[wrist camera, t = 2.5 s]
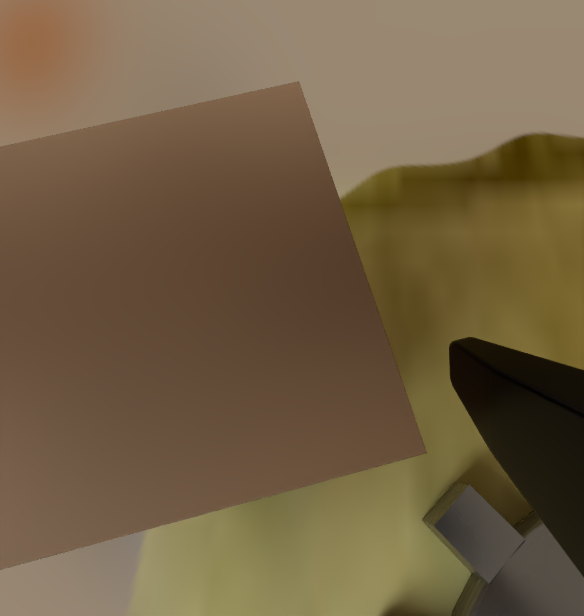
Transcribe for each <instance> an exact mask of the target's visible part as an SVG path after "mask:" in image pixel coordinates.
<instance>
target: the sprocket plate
mask: <svg viewBox="0 0 584 616" xmlns="http://www.w3.org/2000/svg"><path fill="white" fill-rule="evenodd" d="M422 521H423V522H424V523H425V524H426V525H427V526H428V527H429V528H430V529H431V530H432V531H433V532H434V533H435V534H436V535H437V537H438V538H439V539H440V540H441V541H442V542H443V543H444V544H445V545H446V546H447V547H448V548H449V549H450V550H451V551H452V552H453V553H454V555H455V556H456V557H457V558H458V559H459V560H460V561H461V562H462V563H463V564H464V565H465V566H466V567H467V568H468V569H469V570H470V571H471V572H472V573H473V574H472V576H471V577H470V578H469V580H468V582H467V584H466V586H465V588H464V590H463V592H462V594H461V596H460V598H459V600H458V602H457V604H456V606H455V608H454V610H453V612H452V615H451V616H584V577H583V576H582V575H581V573H580V572H579V571H578V569H577V568H576V567H575V565H574V564H573V563H572V561H571V560H570V558H569V557H568V556H567V554H566V553H565V552H564V550H563V549H562V548H561V546H560V545H559V544H558V542H557V541H556V540H555V538H554V537H553V535H552V534H551V533H550V531H549V530H548V529H547V527H546V526H545V525H544V523H543V522H542V521H541V519H540V518H539V517H538V515H537V514H536V512H535V511H533V512H532V513H530V514H529V515H528V516H526V517H525V518H524V519H522V520H521V521H520V522H518V523H517V524H516V525H515V526H513V527H512V526H511V525H510V524H509V523H508V522H507V521H506V520H505V519H504V518H503V517H502V516H501V515H500V514H499V513H498V512H497V511H496V510H495V509H494V508H493V507H492V506H491V505H490V504H489V503H488V502H487V501H486V500H485V499H484V498H483V497H482V496H481V495H480V494H479V493H478V492H477V491H476V490H475V489H474V488H473V487H472V486H471V485H469V484H461V483H454V484H453V485H452V486H451V488H450V489H449V490H448V491H447V492H446V493H445V494H444V496H443V497H442V498H441V499H440V500H439V501H438V502H437V504H436V505H435V506H434V507H433V508H432V509H431V510H430V512H429V513H428V514H427V515H426V516H425V517H424V518H423V520H422Z"/></svg>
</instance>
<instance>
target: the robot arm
mask: <svg viewBox="0 0 584 616" xmlns="http://www.w3.org/2000/svg"><path fill="white" fill-rule="evenodd" d="M449 363H450V379H451V382H452V385H453V388H454V389H455V391H456V393H457V395H458V396H459V398H460V400H461V401H462V403H463V405H464V407H465V408H466V410H467V412H468V414H469V415H470V417H471V419H472V420H473V422H474V424H475V426H476V427H477V429H478V431H479V432H480V434H481V436H482V438H483V439H484V441H485V443H486V444H487V446H488V448H489V449H490V451H491V452H492V454H493V455H494V457H495V458H496V460H497V461H498V462H499V464H500V465H501V466H502V468H503V469H504V471H505V472H506V473H507V475H508V476H509V477H510V479H511V480H512V481H513V483H514V484H515V485H516V487H517V488H518V489H519V491H520V492H521V494H522V495H523V496H524V498H525V499H526V500H527V502H528V503H529V504H530V506H531V507H532V508H533V510H534V511H535V512H536V514H537V515H538V517H539V518H540V519H541V521H542V522H543V523H544V525H545V526H546V527H547V529H548V530H549V531H550V533H551V534H552V535H553V537H554V538H555V540H556V541H557V542H558V544H559V545H560V546H561V548H562V549H563V550H564V552H565V553H566V554H567V556H568V557H569V558H570V560H571V561H572V563H573V564H574V565H575V567H576V568H577V569H578V571H579V572H580V573H581V575H582V576H583V577H584V370H581V369H578V368H575V367H571V366H568V365H564V364H561V363H558V362H554V361H551V360H548V359H544V358H541V357H537V356H534V355H531V354H527V353H524V352H521V351H517V350H514V349H510V348H507V347H504V346H500V345H497V344H494V343H490V342H487V341H483V340H480V339H477V338H473V337H467V338H463V339H459V340H456V341H452V342H451V344H450V346H449Z"/></svg>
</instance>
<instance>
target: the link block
mask: <svg viewBox="0 0 584 616" xmlns="http://www.w3.org/2000/svg"><path fill="white" fill-rule="evenodd" d="M425 453H427V452H426V449H425V446H424V443H423V440H422V437H421V435H420V432H419V429H418V426H417V423H416V420H415V417H414V414H413V411H412V408H411V405H410V403H409V400H408V397H407V394H406V391H405V388H404V385H403V382H402V379H401V376H400V374H399V371H398V368H397V365H396V362H395V359H394V356H393V353H392V350H391V347H390V344H389V342H388V339H387V336H386V333H385V330H384V327H383V324H382V321H381V318H380V315H379V312H378V310H377V307H376V304H375V301H374V298H373V295H372V292H371V289H370V286H369V283H368V281H367V278H366V275H365V272H364V269H363V266H362V263H361V260H360V257H359V254H358V251H357V249H356V246H355V243H354V240H353V237H352V234H351V231H350V228H349V225H348V222H347V220H346V217H345V214H344V211H343V208H342V205H341V202H340V199H339V196H338V194H337V190H336V188H335V185H334V182H333V179H332V176H331V173H330V170H329V167H328V164H327V162H326V159H325V156H324V153H323V150H322V147H321V144H320V141H319V138H318V135H317V132H316V130H315V127H314V124H313V121H312V118H311V115H310V112H309V109H308V106H307V103H306V101H305V98H304V95H303V92H302V89H301V86H300V83H299V82H294V83H289V84H285V85H280V86H276V87H271V88H266V89H262V90H258V91H253V92H248V93H244V94H239V95H234V96H230V97H226V98H221V99H216V100H212V101H207V102H203V103H198V104H194V105H189V106H184V107H180V108H175V109H171V110H166V111H161V112H157V113H152V114H148V115H143V116H139V117H134V118H130V119H126V120H121V121H116V122H111V123H107V124H102V125H98V126H93V127H88V128H84V129H80V130H75V131H70V132H66V133H61V134H56V135H52V136H47V137H43V138H38V139H34V140H30V141H25V142H20V143H15V144H11V145H7V146H2V147H0V570H2V569H6V568H10V567H13V566H17V565H21V564H24V563H28V562H31V561H35V560H39V559H42V558H46V557H50V556H53V555H57V554H60V553H64V552H68V551H72V550H75V549H79V548H83V547H86V546H90V545H93V544H97V543H101V542H104V541H108V540H112V539H115V538H119V537H123V536H126V535H130V534H133V533H137V532H141V531H145V530H148V529H152V528H156V527H159V526H163V525H166V524H170V523H174V522H177V521H181V520H185V519H188V518H192V517H196V516H199V515H203V514H207V513H210V512H214V511H218V510H221V509H225V508H228V507H232V506H236V505H239V504H243V503H247V502H250V501H254V500H258V499H261V498H265V497H269V496H272V495H276V494H280V493H283V492H287V491H290V490H294V489H298V488H301V487H305V486H309V485H312V484H316V483H320V482H323V481H327V480H331V479H334V478H338V477H342V476H345V475H349V474H352V473H356V472H360V471H363V470H367V469H371V468H374V467H378V466H382V465H385V464H389V463H393V462H396V461H400V460H404V459H407V458H410V457H414V456H418V455H421V454H425Z"/></svg>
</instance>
